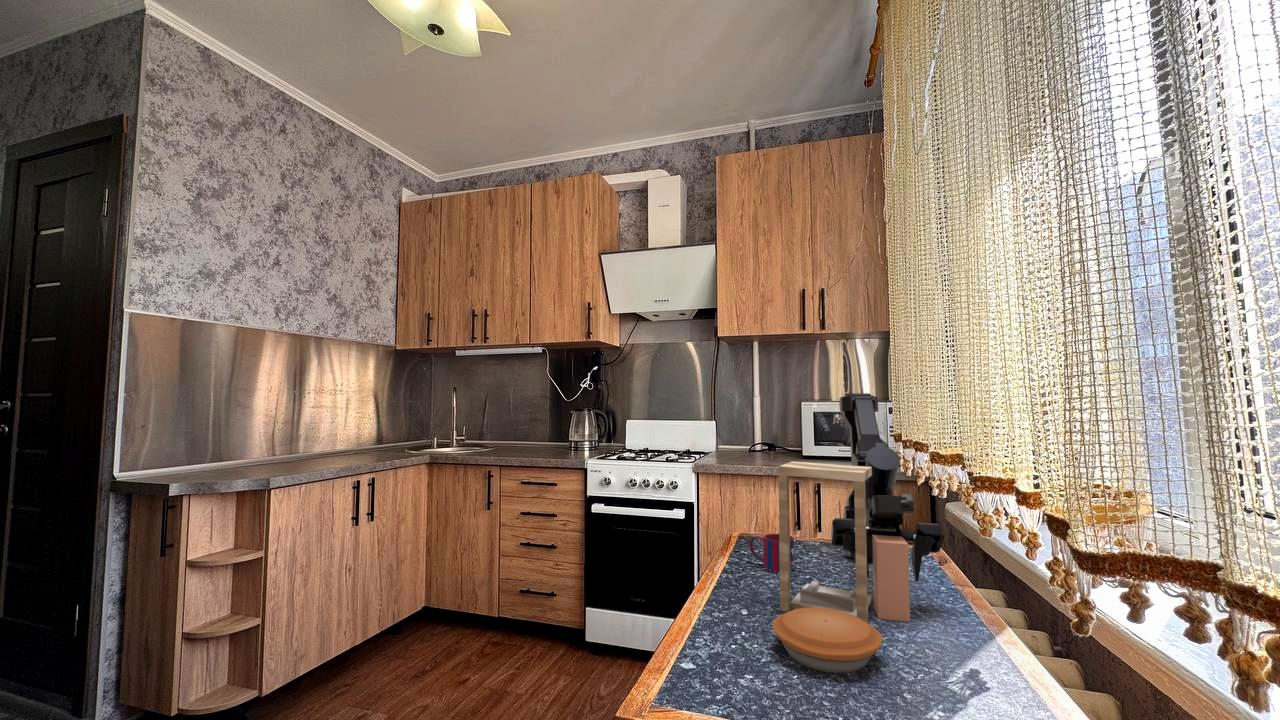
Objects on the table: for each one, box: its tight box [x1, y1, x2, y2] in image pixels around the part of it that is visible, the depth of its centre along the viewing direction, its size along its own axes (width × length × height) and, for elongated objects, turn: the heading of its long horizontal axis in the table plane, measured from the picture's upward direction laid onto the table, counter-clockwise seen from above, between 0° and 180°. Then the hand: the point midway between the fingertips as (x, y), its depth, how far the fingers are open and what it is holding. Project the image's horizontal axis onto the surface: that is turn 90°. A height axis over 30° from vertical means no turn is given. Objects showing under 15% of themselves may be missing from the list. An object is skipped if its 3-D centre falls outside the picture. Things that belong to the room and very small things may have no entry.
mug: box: [749, 533, 796, 573], centre depth 123 cm, size 7×10×7 cm
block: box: [872, 535, 911, 623], centre depth 97 cm, size 5×5×13 cm
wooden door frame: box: [777, 461, 873, 624], centre depth 101 cm, size 14×14×26 cm
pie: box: [772, 607, 883, 674], centre depth 82 cm, size 16×16×5 cm
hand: (892, 578), depth 95 cm, fingers open, 8 cm apart
